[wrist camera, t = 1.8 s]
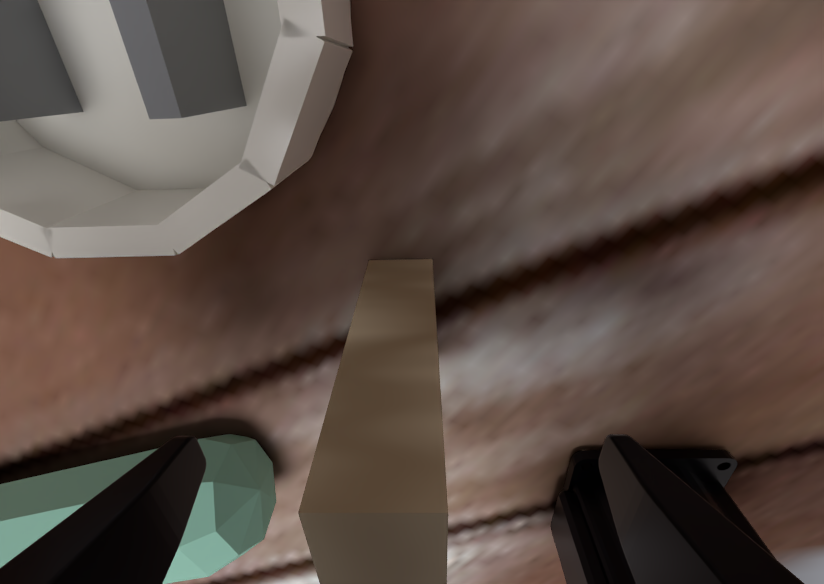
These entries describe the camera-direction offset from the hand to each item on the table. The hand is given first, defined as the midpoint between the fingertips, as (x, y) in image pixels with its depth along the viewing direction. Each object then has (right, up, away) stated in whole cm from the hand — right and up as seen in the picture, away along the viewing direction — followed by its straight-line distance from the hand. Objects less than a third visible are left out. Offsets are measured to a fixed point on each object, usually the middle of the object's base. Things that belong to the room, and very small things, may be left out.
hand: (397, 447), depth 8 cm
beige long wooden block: (0, +3, +5) cm, 5 cm away
